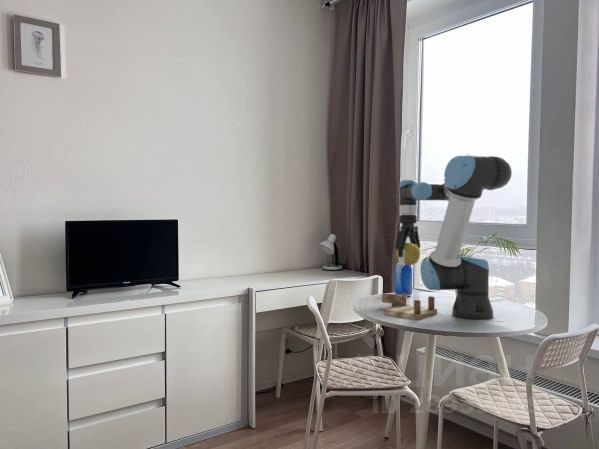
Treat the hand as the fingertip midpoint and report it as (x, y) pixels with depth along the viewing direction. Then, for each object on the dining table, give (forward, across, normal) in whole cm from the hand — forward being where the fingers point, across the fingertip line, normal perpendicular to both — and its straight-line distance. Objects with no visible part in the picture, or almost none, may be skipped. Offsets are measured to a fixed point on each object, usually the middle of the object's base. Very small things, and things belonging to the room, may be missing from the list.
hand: (408, 263), depth 208 cm
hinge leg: (+16, +15, +2) cm, 22 cm away
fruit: (+1, 0, 0) cm, 1 cm away
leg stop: (+18, +11, 0) cm, 21 cm away
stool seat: (+18, +20, +12) cm, 30 cm away
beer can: (+18, -17, -12) cm, 28 cm away
